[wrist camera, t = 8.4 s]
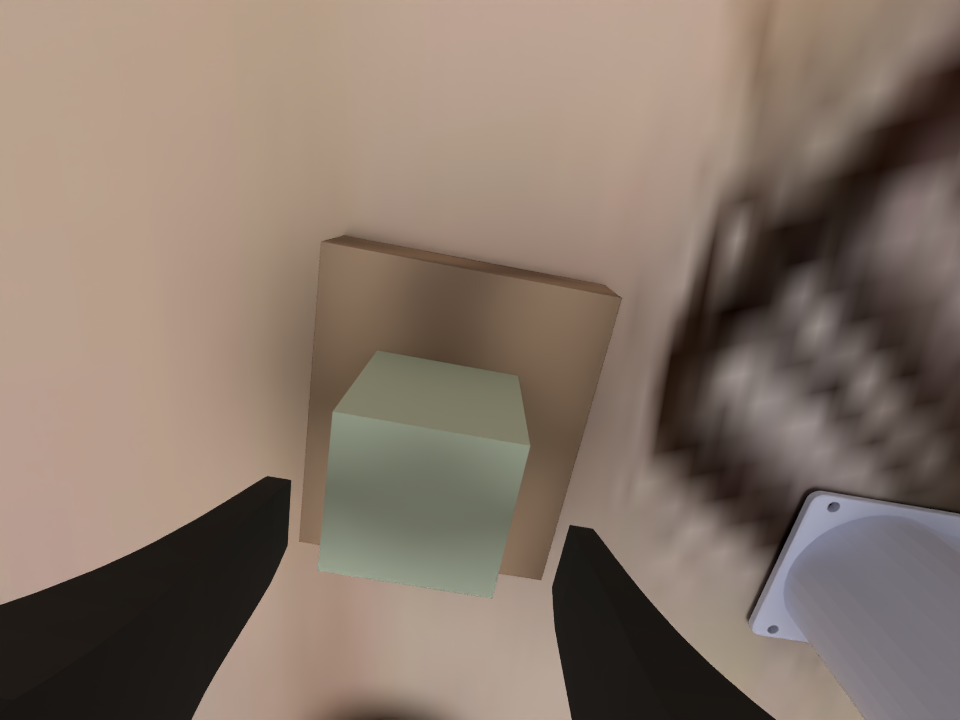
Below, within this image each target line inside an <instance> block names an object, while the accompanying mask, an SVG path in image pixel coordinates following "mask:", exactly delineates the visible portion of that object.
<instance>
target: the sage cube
mask: <svg viewBox="0 0 960 720" xmlns="http://www.w3.org/2000/svg"><path fill="white" fill-rule="evenodd" d="M529 449H530V442H529V436H528V430H527V424H526V418H525V413H524V407H523V401H522V395H521V389H520V384H519V378H518V376H516V375H511V374H505V373H500V372H494V371H489V370H483V369H478V368H472V367H466V366H461V365H455V364H450V363H444V362H439V361H433V360H428V359H422V358H417V357H411V356H405V355H400V354H394V353H389V352H383V351H378V350H377V351H376V353H375V354H374V355H373V357H372V358H371V359H370V361H369V362H368V364H367V365H366V366H365V368H364V369H363V370H362V372H361V373H360V375H359V376H358V377H357V379H356V380H355V381H354V383H353V384H352V386H351V387H350V388H349V390H348V391H347V392H346V394H345V395H344V397H343V398H342V399H341V401H340V402H339V403H338V405H337V406H336V408H335V409H334V410H333V413H332V423H331V434H330V445H329V455H328V466H327V477H326V487H325V498H324V508H323V519H322V530H321V540H320V551H319V562H318V571H322V572H328V573H335V574H341V575H347V576H354V577H360V578H366V579H372V580H379V581H385V582H391V583H398V584H404V585H410V586H417V587H423V588H429V589H436V590H442V591H448V592H454V593H461V594H467V595H473V596H480V597H486V598H493V594H494V590H495V586H496V582H497V578H498V574H499V570H500V566H501V562H502V557H503V553H504V549H505V545H506V541H507V537H508V533H509V529H510V525H511V521H512V517H513V513H514V509H515V505H516V501H517V497H518V493H519V489H520V485H521V481H522V477H523V473H524V469H525V465H526V461H527V457H528V453H529Z"/></svg>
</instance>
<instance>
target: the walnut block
mask: <svg viewBox="0 0 960 720" xmlns="http://www.w3.org/2000/svg"><path fill="white" fill-rule="evenodd" d="M621 300H622V298H621V297H620V296H618V295H617V294H616V293H614V292H613V291H612V290H610V289H609V288H608V287H606V286H605V285H602V284H596V283H591V282H586V281H580V280H575V279H570V278H565V277H559V276H554V275H549V274H543V273H538V272H533V271H528V270H522V269H517V268H512V267H506V266H501V265H496V264H491V263H485V262H480V261H475V260H469V259H464V258H459V257H454V256H448V255H443V254H438V253H432V252H427V251H422V250H417V249H411V248H406V247H401V246H395V245H390V244H385V243H380V242H374V241H369V240H364V239H358V238H353V237H348V236H340V237H337V238H333V239H329V240H325V241H322V242H321V250H320V264H319V278H318V291H317V305H316V319H315V332H314V346H313V360H312V373H311V387H310V401H309V414H308V428H307V442H306V455H305V469H304V483H303V496H302V510H301V524H300V537H299V542H305V543H311V544H317V545H320V540H321V530H322V519H323V508H324V498H325V487H326V477H327V466H328V455H329V445H330V434H331V423H332V413H333V410H334V409H335V408H336V406H337V405H338V403H339V402H340V401H341V399H342V398H343V397H344V395H345V394H346V392H347V391H348V390H349V388H350V387H351V386H352V384H353V383H354V381H355V380H356V379H357V377H358V376H359V375H360V373H361V372H362V370H363V369H364V368H365V366H366V365H367V364H368V362H369V361H370V359H371V358H372V357H373V355H374V354H375V353H376V351H377V350H378V351H383V352H389V353H394V354H400V355H405V356H411V357H417V358H422V359H428V360H433V361H439V362H444V363H450V364H455V365H461V366H466V367H472V368H478V369H483V370H489V371H494V372H500V373H505V374H511V375H516V376H518V378H519V384H520V389H521V395H522V401H523V407H524V413H525V418H526V424H527V430H528V436H529V442H530V449H529V453H528V457H527V461H526V465H525V469H524V473H523V477H522V481H521V485H520V489H519V493H518V497H517V501H516V505H515V509H514V513H513V517H512V521H511V525H510V529H509V533H508V537H507V541H506V545H505V549H504V553H503V557H502V562H501V566H500V570H499V574H506V575H512V576H518V577H524V578H531V579H537V580H541V579H542V576H543V572H544V569H545V565H546V562H547V558H548V555H549V551H550V548H551V544H552V541H553V537H554V534H555V530H556V527H557V523H558V520H559V516H560V513H561V509H562V506H563V502H564V499H565V495H566V492H567V488H568V485H569V481H570V478H571V474H572V471H573V467H574V464H575V460H576V457H577V453H578V450H579V446H580V443H581V439H582V436H583V432H584V429H585V425H586V422H587V419H588V415H589V412H590V408H591V405H592V401H593V398H594V394H595V391H596V387H597V384H598V380H599V377H600V373H601V370H602V366H603V363H604V359H605V356H606V352H607V349H608V345H609V342H610V338H611V335H612V331H613V328H614V324H615V321H616V317H617V314H618V310H619V307H620V303H621Z"/></svg>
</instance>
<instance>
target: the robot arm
mask: <svg viewBox="0 0 960 720" xmlns="http://www.w3.org/2000/svg"><path fill="white" fill-rule="evenodd" d="M290 492H291V480H288V479H281V478H275V477H269V476H267V477H265V478H263V479H261V480H260V481H258V482H256V483H255V484H253V485H252V486H250V487H248V488H247V489H245V490H244V491H242V492H240V493H239V494H237V495H236V496H234V497H232V498H231V499H229V500H227V501H226V502H224V503H222V504H221V505H219V506H217V507H216V508H214V509H212V510H211V511H209V512H207V513H206V514H204V515H202V516H201V517H199V518H197V519H196V520H194V521H192V522H190V523H188V524H187V525H185V526H183V527H181V528H179V529H177V530H176V531H174V532H172V533H170V534H168V535H166V536H165V537H163V538H161V539H159V540H157V541H155V542H153V543H151V544H149V545H147V546H145V547H143V548H141V549H139V550H137V551H135V552H133V553H131V554H129V555H127V556H124V557H122V558H120V559H118V560H116V561H113V562H111V563H109V564H107V565H105V566H102V567H100V568H98V569H95V570H93V571H91V572H88V573H85V574H83V575H80V576H78V577H75V578H73V579H70V580H67V581H65V582H62V583H60V584H57V585H55V586H52V587H50V588H47V589H44V590H42V591H39V592H37V593H34V594H31V595H28V596H25V597H22V598H19V599H16V600H13V601H11V602H8V603H5V604H2V605H0V720H191V719H192V717H193V715H194V713H195V711H196V709H197V707H198V705H199V703H200V701H201V699H202V697H203V695H204V693H205V691H206V690H207V688H208V686H209V684H210V683H211V681H212V679H213V677H214V675H215V674H216V672H217V670H218V669H219V667H220V665H221V664H222V662H223V660H224V659H225V657H226V656H227V654H228V652H229V651H230V649H231V647H232V646H233V644H234V643H235V641H236V639H237V638H238V636H239V634H240V633H241V631H242V629H243V628H244V626H245V625H246V623H247V621H248V620H249V618H250V616H251V615H252V613H253V612H254V610H255V608H256V607H257V605H258V603H259V602H260V600H261V598H262V597H263V595H264V593H265V592H266V590H267V588H268V587H269V585H270V583H271V581H272V579H273V577H274V575H275V572H276V570H277V568H278V566H279V564H280V562H281V559H282V557H283V555H284V553H285V550H286V548H287V546H288V528H289V510H290ZM832 502H833V503H832ZM830 503H832V505H830V506H828V505H829V504H830ZM552 594H553V611H554V624H555V632H556V637H557V643H558V648H559V654H560V659H561V665H562V670H563V675H564V680H565V686H566V691H567V696H568V702H569V707H570V712H571V718H572V720H776V719H774V718H773V717H772V716H771V715H769V714H768V713H767V712H766V711H764V710H763V709H762V708H761V707H759V706H758V705H757V704H756V703H754V702H753V701H752V700H751V699H750V698H748V697H747V696H746V695H745V694H744V693H743V692H741V691H740V690H739V689H738V688H737V687H736V686H735V685H733V684H732V683H731V682H730V681H729V680H728V679H726V678H725V677H724V676H723V675H722V674H721V673H720V672H719V671H717V670H716V669H715V668H714V667H713V666H712V665H711V664H710V663H709V662H708V661H707V660H706V659H705V658H704V657H703V656H701V655H700V654H699V653H698V652H697V651H696V650H695V649H694V648H693V647H692V646H691V645H690V644H689V643H688V642H687V641H686V640H685V639H684V638H683V637H682V636H681V635H680V634H679V633H678V632H677V631H676V630H675V628H674V627H673V626H672V625H671V624H670V623H669V622H668V621H667V620H666V619H665V617H664V616H663V615H662V614H661V613H660V612H659V611H658V610H657V609H656V607H655V606H654V605H653V604H652V603H651V602H650V600H649V599H648V598H647V597H646V596H645V595H644V593H643V592H642V591H641V590H640V589H639V587H638V586H637V585H636V584H635V582H634V581H633V580H632V579H631V577H630V576H629V575H628V574H627V572H626V571H625V570H624V568H623V567H622V566H621V565H620V563H619V562H618V561H617V559H616V558H615V557H614V555H613V554H612V553H611V552H610V550H609V549H608V548H607V546H606V545H605V544H604V542H603V541H602V540H601V538H600V537H599V536H598V534H597V533H596V532H595V531H594V529H591V528H585V527H579V526H573V525H570V526H569V530H568V533H567V537H566V540H565V544H564V547H563V551H562V554H561V558H560V561H559V565H558V568H557V572H556V575H555V579H554V582H553V586H552ZM748 624H749V626H750V628H751V630H752V631H753V632H754V633H755V634H757V635H763V636H769V637H776V638H782V639H789V640H796V641H802V642H809V643H810V644H811V645H812V647H813V648H814V650H815V651H816V652H817V654H818V655H819V657H820V658H821V659H822V661H823V662H824V663H825V665H826V666H827V668H828V669H829V670H830V672H831V673H832V675H833V676H834V677H835V679H836V680H837V681H838V683H839V684H840V686H841V687H842V688H843V690H844V691H845V692H846V694H847V695H848V697H849V698H850V699H851V701H852V702H853V704H854V705H855V706H856V708H857V709H858V710H859V712H860V713H861V715H862V716H863V717H864V719H865V720H960V514H958V513H952V512H946V511H940V510H934V509H928V508H922V507H916V506H910V505H904V504H898V503H892V502H886V501H880V500H874V499H868V498H862V497H856V496H850V495H844V494H838V493H832V492H826V491H815V492H812V493H811V494H810V495H809V496H808V497H807V498H806V500H805V502H804V504H803V507H802V509H801V511H800V513H799V515H798V517H797V519H796V521H795V524H794V526H793V528H792V530H791V532H790V534H789V536H788V539H787V541H786V543H785V545H784V547H783V549H782V551H781V553H780V556H779V558H778V560H777V562H776V564H775V566H774V568H773V570H772V573H771V575H770V577H769V579H768V581H767V583H766V585H765V587H764V590H763V592H762V594H761V596H760V598H759V600H758V602H757V604H756V607H755V609H754V611H753V613H752V615H751V617H750V619H749V623H748Z"/></svg>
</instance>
